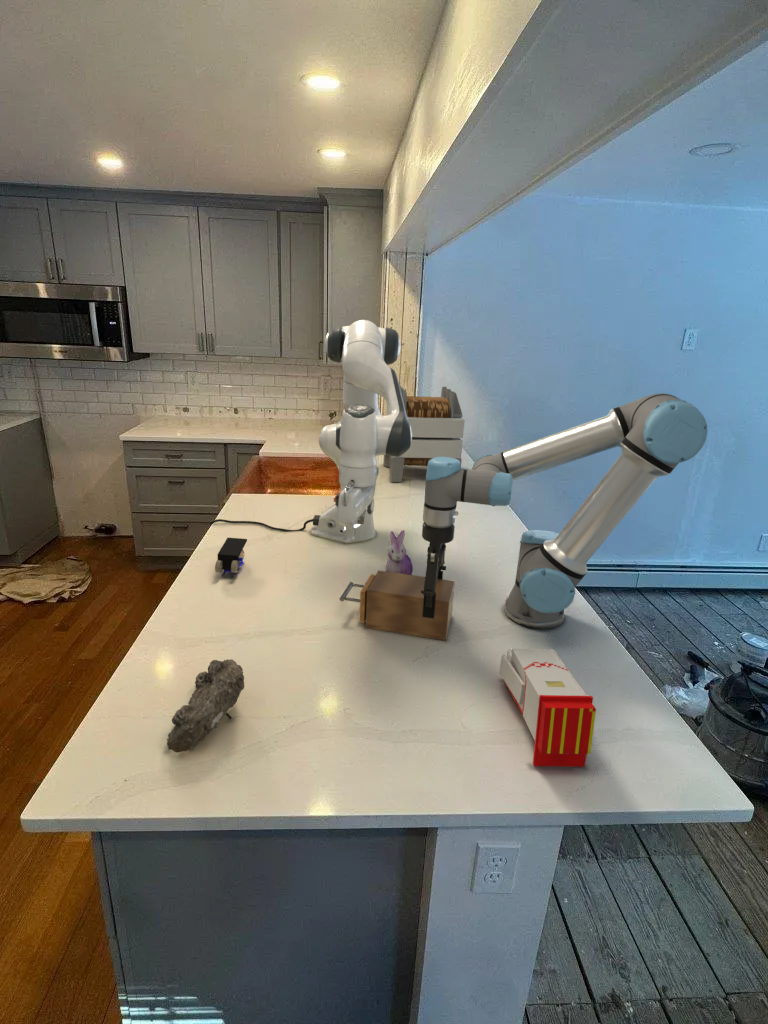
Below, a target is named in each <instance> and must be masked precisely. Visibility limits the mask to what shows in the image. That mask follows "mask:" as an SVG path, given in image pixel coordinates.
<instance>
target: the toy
mask: <svg viewBox="0 0 768 1024" xmlns="http://www.w3.org/2000/svg"><path fill="white" fill-rule="evenodd" d="M499 675H500V676H501V678H502V681H503V682H504V684H505V687H506V688H507V689H508V692H509V694H510V696H511V697H512V699H513V701H514V703H515V704H516V706H517V708H518V710H519V711H520V713H521V715H522V717H523V719H524V721H525V723H526V725H527V728H528V730H529V732H530V734H531V736H532V738H533V740H534V749H533V757H532V758H533V759H532V766H533V767H558V768H559V767H561V768H562V767H566V768H567V767H569V768H572V767H573V768H579V767H581V768H585V767H586V760H587V755H591V754H592V753H591V752H592V744H593V735H594V730H595V729H594V728H595V720H596V712H597V708H596V707H595V705H594V703H593V702H594V697H593V695H587V694H586V693H585V691H584V690H583V689H582V687H581V685H580V684H579V683H578V682H577V680H576V679H575V678H574V676H573V675H572V673H571V671H569V669H568V668H567V666H566V665H565V663H564V662H563V661H562V659H561V658H560V656H559V654H557V652H556V651H555V650H554V649H553V648H511V649H509V648H508V649H506V655H505V654H501V659H500V666H499Z"/></svg>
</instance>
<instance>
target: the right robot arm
mask: <svg viewBox="0 0 768 1024" xmlns="http://www.w3.org/2000/svg"><path fill="white" fill-rule="evenodd" d="M708 432H709V431H708V423H707V420H706V417H705V416H704V415H703V413H702V412H701V411H700V410H699V408H697V407H696V406H694V404H693V403H691V402H688V401H686V400H683V399H681V398H679V397H677V396H675V395H673V394H670V393H652V394H650V395H646V396H643V397H640V398H637V399H635V400H633V401H630V402H628V403H625V404H623V405H620V406H617V407H614V408H611V409H610V410H609V412H608V414H607V415H604V416H601V417H599V418H596V419H593V420H590V421H587V422H585V423H581V424H579V425H576V426H573V427H570V428H567V429H565V430H561V431H558V432H556V433H553V434H550V435H547V436H544V437H541V438H539V439H536V440H533V441H530V442H527V443H524V444H522V445H519V446H515V447H513V448H510V449H507V450H504V451H502V452H498V453H495V454H490V453H488V454H487V453H486V454H483V455H481V456H479V457H478V458H477V459H476V460H475V462H474V463H473V465H472V468H471V469H468V468H467V469H466V468H462V465H461V466H460V461H459V460H457V459H455V458H450V457H435V458H432V459H430V461H429V462H428V466H426V474H425V484H424V485H425V486H424V501H423V511H422V512H423V513H422V526H421V527H422V528H421V537H422V539H423V540H424V541H426V542H429V544H428V546H427V549H426V550H427V551H426V552H427V554H426V557H427V559H426V568H425V575H424V577H425V583H424V591H422V590H421V593H423V595H424V603H423V616H422V617H426V618H433V619H434V613H435V601H436V592H435V591H436V584H437V579H443V578H444V571H445V572H446V571H447V565H445V564H446V562H445V561H446V560H445V558H446V557H445V555H446V549H447V544H448V543H452V541H453V540H454V538H455V528H456V527H455V523H456V516H459V511H457V507H458V506H457V505H458V502H460V503H468V504H477V505H485V506H492V507H507V506H508V505H510V503H511V498H512V493H513V482H514V481H516V480H520V479H522V478H525V477H528V476H532V475H535V474H537V473H541V472H544V471H546V470H551V469H553V468H556V467H558V466H562V465H565V464H568V463H571V462H575V461H578V460H581V459H584V458H586V457H590V456H592V455H593V456H594V455H596V454H599V453H602V452H605V451H608V450H612V449H614V448H618V447H619V448H621V454H620V455H619V456H618V458H617V459H616V460H615V462H613V464H612V465H611V466H610V468H609V469H608V471H607V472H606V473H605V474H604V475H603V476H602V478H601V480H600V481H599V482H598V483H597V484H596V486H595V487H594V488H593V490H592V491H591V492H590V494H589V495H588V496H587V497H586V499H585V500H584V501H583V503H582V504H581V505H580V507H578V509H577V510H576V511H575V513H574V514H573V515H572V517H570V519H569V520H568V522H567V523H566V524H565V525H564V527H563V528H562V529H561V530H560V532H559V533H558V532H555V531H550V530H544V529H531V530H525V531H524V532H523V533H522V535H521V537H520V540H519V544H520V545H519V552H518V558H517V567H516V573H515V579H514V580H515V581H514V585H513V587H512V589H511V591H510V592H509V595H508V596H506V598H505V601H504V614H505V615H506V616H507V617H508V619H510V620H511V621H513V622H515V624H518V625H521V626H523V627H526V628H533V629H538V630H546V629H553V628H557V627H559V626H561V624H562V623H563V622H564V618H565V610H566V609H567V608H568V607H569V606H570V605H571V604H572V603H573V601H574V599H575V595H576V587H577V586H578V585H579V584H580V582H581V581H582V580H583V578H584V577H585V576H586V575H587V574H588V567H587V562H588V561H589V560H590V559H591V558H592V556H593V555H594V554H595V553H596V552H597V550H598V549H599V548H600V547H601V546H602V544H603V543H604V542H605V541H606V540H607V539H608V537H609V536H610V535H611V534H612V532H613V531H614V530H615V529H616V527H617V526H618V525H619V524H620V523H621V522H622V520H623V519H624V518H626V517H625V516H626V515H627V514H628V513H629V512H630V511H631V510H632V508H634V506H635V505H636V504H637V502H638V501H639V500H640V498H641V497H642V496H643V495H644V494H645V493H646V492H647V490H648V489H649V488H650V487H651V485H652V484H653V483H654V482H655V480H656V479H657V478H658V477H665V476H669V475H670V474H671V473H672V472H673V471H674V469H675V468H676V467H677V466H678V465H679V464H680V463H684V462H687V461H689V460H691V459H692V458H694V457H695V456H696V455H698V454H699V453H700V451H701V450H702V449H703V447H704V446H705V444H706V442H707V438H708ZM443 580H444V579H443Z"/></svg>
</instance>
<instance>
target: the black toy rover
mask: <svg viewBox="0 0 768 1024" xmlns="http://www.w3.org/2000/svg"><path fill="white" fill-rule="evenodd" d="M247 542H248V538H240V537H226V539H225V541H224V543H223V544H222V546H221V547H220V549H219V551H218V552H217V560H216V562H215V564H214V572H215V573H221V577H222V578H224V577H225V576H226V574H227V573H230V574H231V573H232V574H231V578H234V577H235V575H236V573H237V572H239V571H240V567H242V566H243V565H244V564H245V562H244V558H245V551H244V547H245V546H246V544H247Z"/></svg>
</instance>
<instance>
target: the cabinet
mask: <svg viewBox="0 0 768 1024" xmlns="http://www.w3.org/2000/svg"><path fill="white" fill-rule="evenodd" d="M374 575H375V577H374V579H373V580H372V582H371V584H370V586H369V587H368V589H367V606H366V620H365V628H366V629H370V630H376V631H383V632H387V633H388V632H389V633H394V634H401V635H407V636H414V637H420V638H425V639H430V640H431V639H432V640H437V641H438V640H439V641H445V642H446V641H447V638H448V633H449V630H450V625H451V621H452V615H453V606H454V594H455V585H456V584H455V583H456V582H455V580H449V579H437V584H436V591H435V592H436V601H435V613H434V619H433V618H426V617H422V616H423V603H424V595H423V593H421V590H422V591H424V583H425V576H421V575H415V574H412V575H408V574H400V573H393V572H386V570H377V572H376V574H374Z"/></svg>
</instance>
